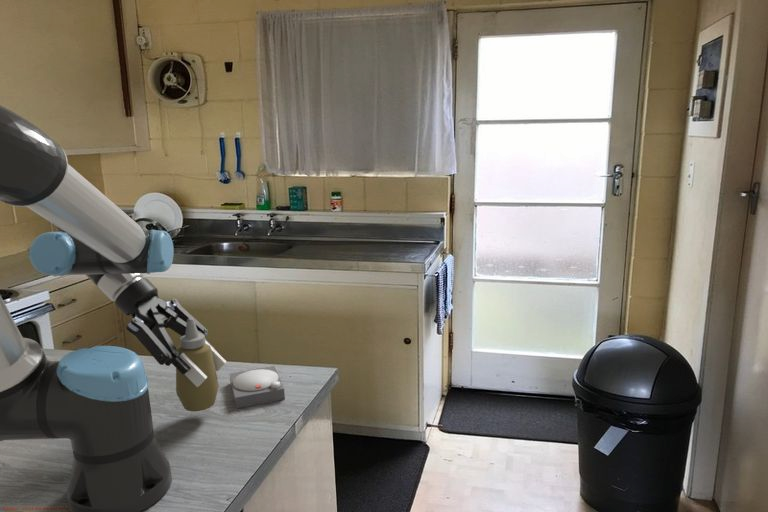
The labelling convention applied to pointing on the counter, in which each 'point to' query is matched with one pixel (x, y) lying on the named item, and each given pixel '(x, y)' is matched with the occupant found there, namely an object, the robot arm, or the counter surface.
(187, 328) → the squeeze bottle
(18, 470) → the counter surface
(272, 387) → the white dome on base
